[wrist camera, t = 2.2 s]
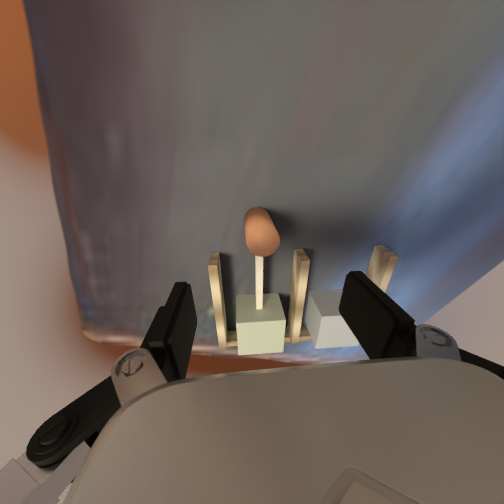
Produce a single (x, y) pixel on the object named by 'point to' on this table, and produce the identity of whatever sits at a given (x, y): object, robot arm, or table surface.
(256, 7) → the table surface
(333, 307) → the blue-grey block
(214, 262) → the lane rack
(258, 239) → the knob-topped lever
